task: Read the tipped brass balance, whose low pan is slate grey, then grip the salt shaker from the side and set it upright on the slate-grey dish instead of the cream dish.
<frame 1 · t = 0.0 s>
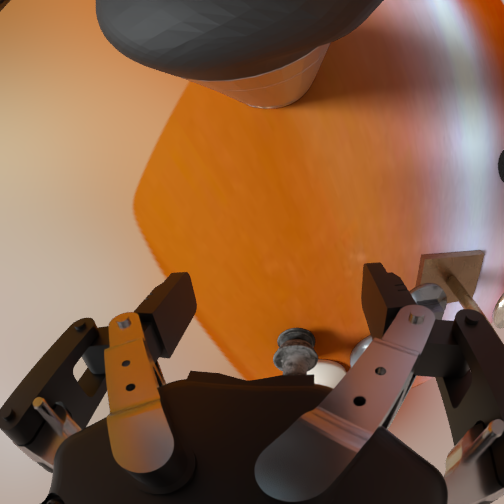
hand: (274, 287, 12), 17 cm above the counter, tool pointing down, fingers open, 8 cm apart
brass balance: (447, 276, 28), on the counter
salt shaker: (296, 340, 36), on the counter
slate-grey dish: (381, 353, 35), on the counter
cream dish: (316, 378, 39), on the counter
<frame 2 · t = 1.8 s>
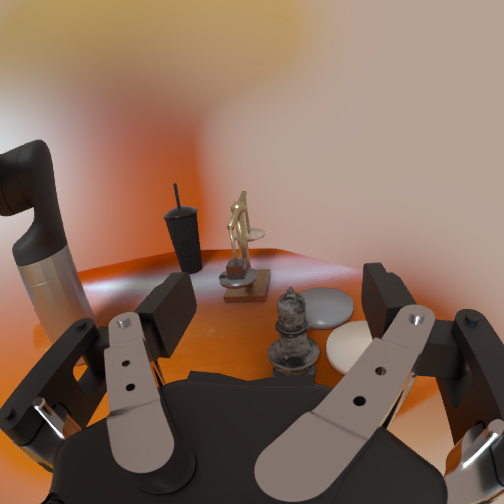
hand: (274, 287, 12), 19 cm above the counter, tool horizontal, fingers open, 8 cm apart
brass balance: (249, 287, 51), on the counter
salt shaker: (294, 372, 30), on the counter
slate-grey dish: (322, 310, 41), on the counter
cream dish: (363, 350, 31), on the counter
drinking cup: (192, 270, 62), on the counter
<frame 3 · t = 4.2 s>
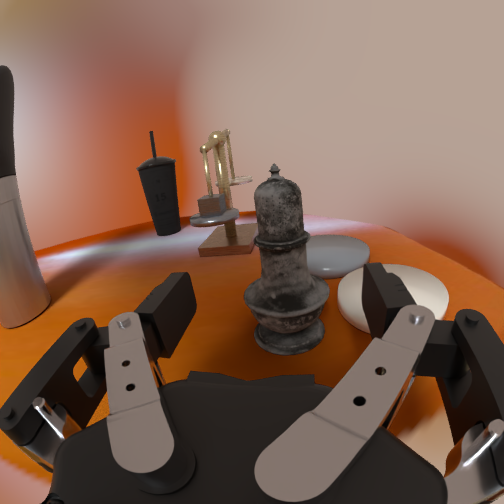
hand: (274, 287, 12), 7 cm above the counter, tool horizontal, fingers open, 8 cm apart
brass balance: (232, 242, 40), on the counter
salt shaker: (289, 333, 20), on the counter
slate-grey dish: (326, 258, 31), on the counter
cream dish: (393, 301, 21), on the counter
drinking cup: (169, 232, 52), on the counter
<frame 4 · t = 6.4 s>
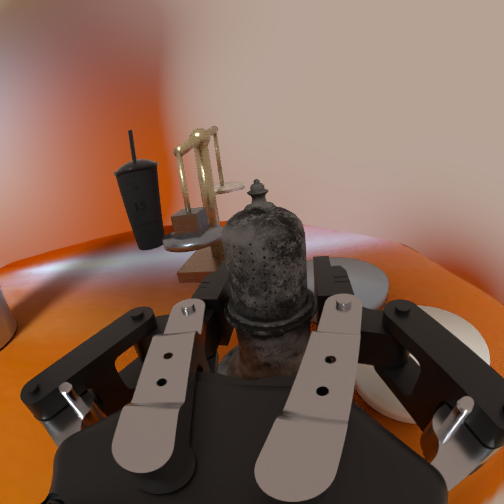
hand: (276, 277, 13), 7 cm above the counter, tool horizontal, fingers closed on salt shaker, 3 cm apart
brass balance: (219, 262, 34), on the counter
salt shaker: (281, 414, 13), on the counter, touching gripper
slate-grey dish: (334, 291, 24), on the counter
cream dish: (420, 361, 14), on the counter
drinking cup: (152, 245, 45), on the counter
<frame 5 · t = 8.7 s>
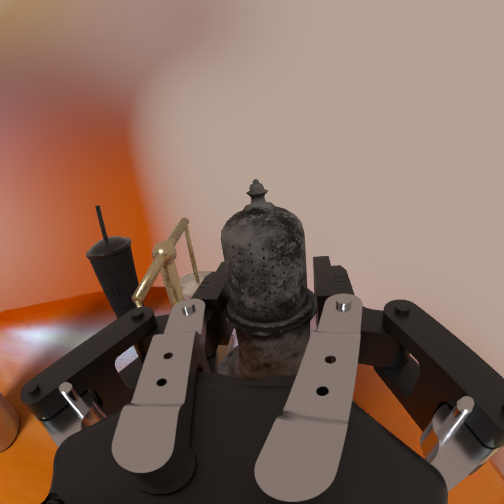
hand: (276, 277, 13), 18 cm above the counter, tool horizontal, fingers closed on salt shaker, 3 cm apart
brass balance: (198, 366, 31), on the counter
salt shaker: (281, 414, 13), point 10 cm above the counter, touching gripper
drinking cup: (134, 321, 42), on the counter
when the fingers open (9 cm above the counter, at t = 11.0 s): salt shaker drops 1 cm, resting on slate-grey dish.
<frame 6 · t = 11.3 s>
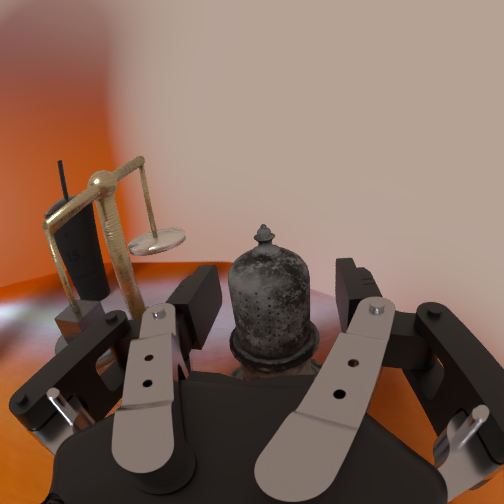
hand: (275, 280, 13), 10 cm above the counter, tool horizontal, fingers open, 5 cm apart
brass balance: (151, 345, 24), on the counter
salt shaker: (281, 428, 13), point 1 cm above the counter, touching slate-grey dish
drinking cup: (96, 296, 35), on the counter
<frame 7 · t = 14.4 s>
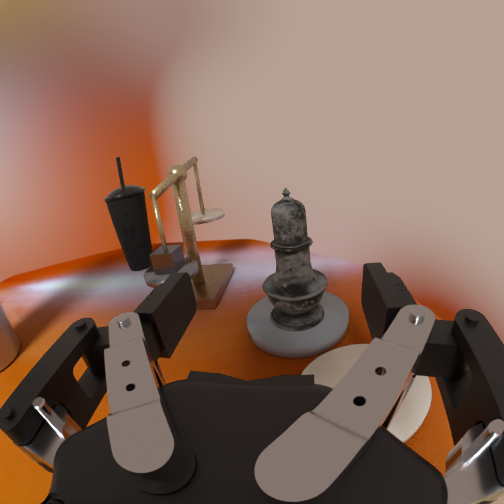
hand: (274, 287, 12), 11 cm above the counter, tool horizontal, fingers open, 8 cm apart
brass balance: (200, 288, 36), on the counter
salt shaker: (297, 316, 26), point 1 cm above the counter, touching slate-grey dish
slate-grey dish: (298, 323, 26), on the counter
cream dish: (363, 399, 16), on the counter
drinking cup: (142, 266, 47), on the counter
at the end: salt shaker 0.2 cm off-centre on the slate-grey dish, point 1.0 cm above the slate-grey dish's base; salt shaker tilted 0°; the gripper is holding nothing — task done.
